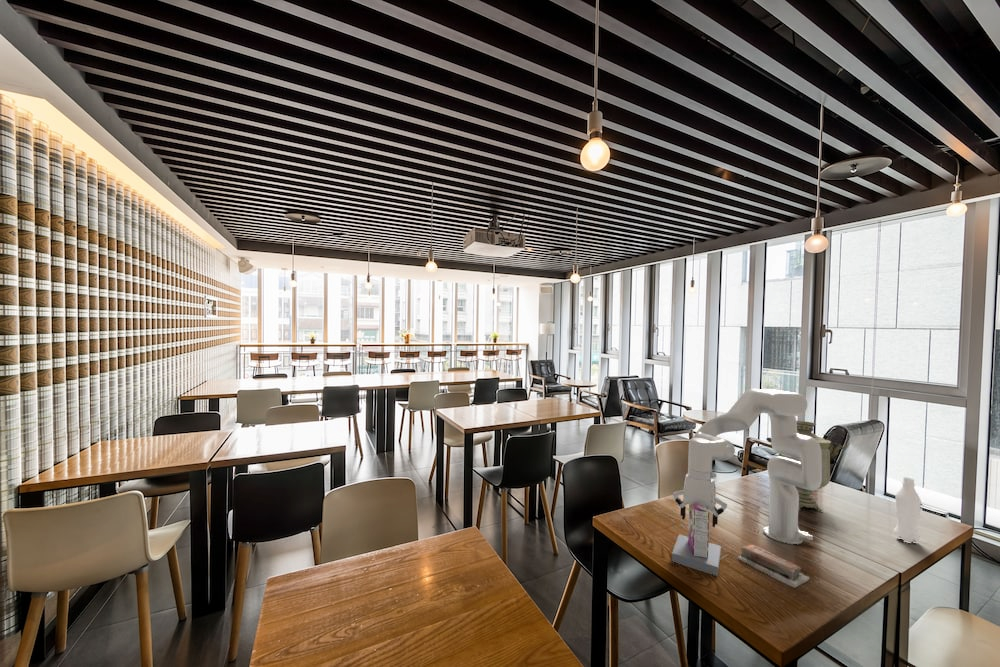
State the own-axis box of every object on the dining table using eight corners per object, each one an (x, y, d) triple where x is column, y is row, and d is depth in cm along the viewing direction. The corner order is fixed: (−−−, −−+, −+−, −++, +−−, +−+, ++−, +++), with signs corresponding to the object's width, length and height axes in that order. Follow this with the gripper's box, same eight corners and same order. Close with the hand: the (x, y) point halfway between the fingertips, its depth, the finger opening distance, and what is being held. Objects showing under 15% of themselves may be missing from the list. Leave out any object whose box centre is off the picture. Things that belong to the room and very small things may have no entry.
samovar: (766, 509, 182) (768, 423, 182) (763, 491, 204) (765, 414, 204) (850, 528, 166) (853, 434, 166) (837, 506, 188) (840, 423, 188)
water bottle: (918, 541, 157) (920, 478, 157) (920, 547, 152) (922, 483, 152) (893, 534, 162) (895, 474, 162) (894, 540, 156) (896, 478, 157)
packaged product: (737, 546, 139) (752, 540, 144) (736, 560, 139) (752, 553, 144) (795, 574, 124) (810, 566, 129) (795, 590, 124) (809, 581, 129)
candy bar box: (687, 540, 145) (688, 496, 145) (701, 542, 144) (703, 498, 144) (692, 556, 134) (694, 508, 135) (708, 559, 133) (710, 511, 133)
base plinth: (720, 554, 142) (720, 545, 142) (717, 576, 129) (717, 567, 129) (678, 542, 150) (679, 534, 150) (671, 561, 136) (672, 553, 136)
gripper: (728, 476, 138) (727, 524, 138) (675, 466, 147) (674, 511, 147) (727, 482, 131) (726, 533, 131) (671, 471, 141) (670, 519, 141)
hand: (698, 521), depth 139 cm, fingers open, 9 cm apart
